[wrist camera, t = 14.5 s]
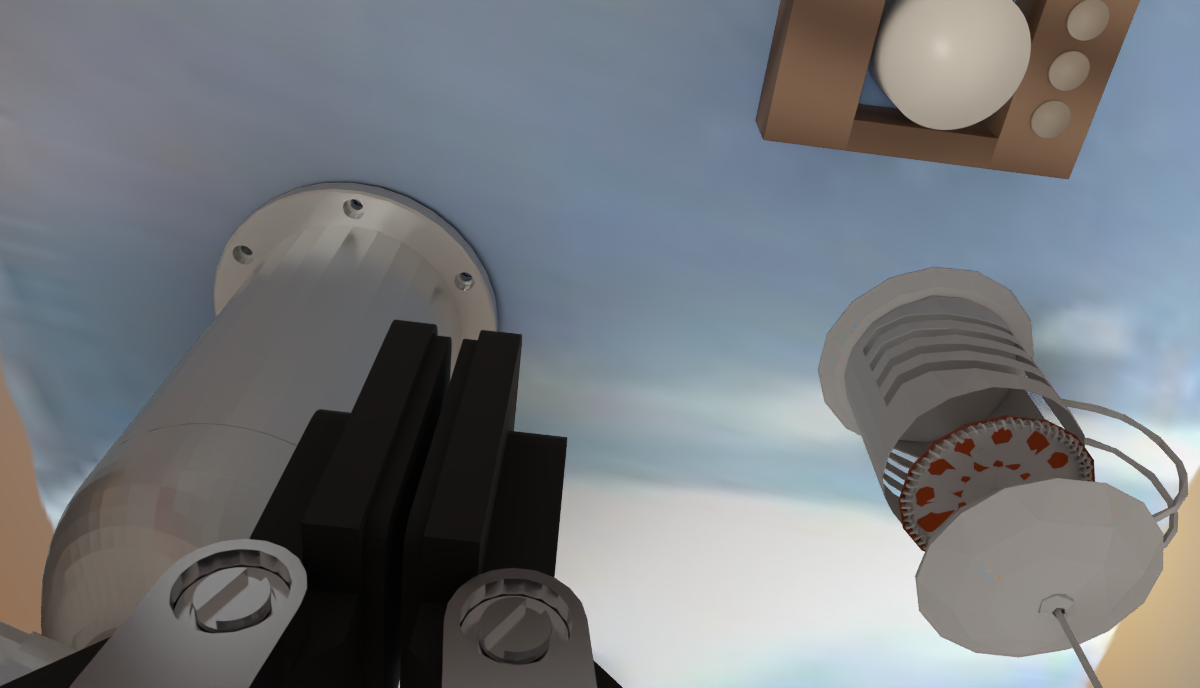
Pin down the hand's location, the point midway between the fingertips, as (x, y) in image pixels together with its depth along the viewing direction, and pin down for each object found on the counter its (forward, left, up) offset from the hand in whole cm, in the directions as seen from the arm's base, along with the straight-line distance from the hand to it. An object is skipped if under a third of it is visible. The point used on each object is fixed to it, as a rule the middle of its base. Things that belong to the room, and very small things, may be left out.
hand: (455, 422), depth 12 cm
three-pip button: (+1, -14, -27) cm, 30 cm away
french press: (-13, -19, -27) cm, 36 cm away
